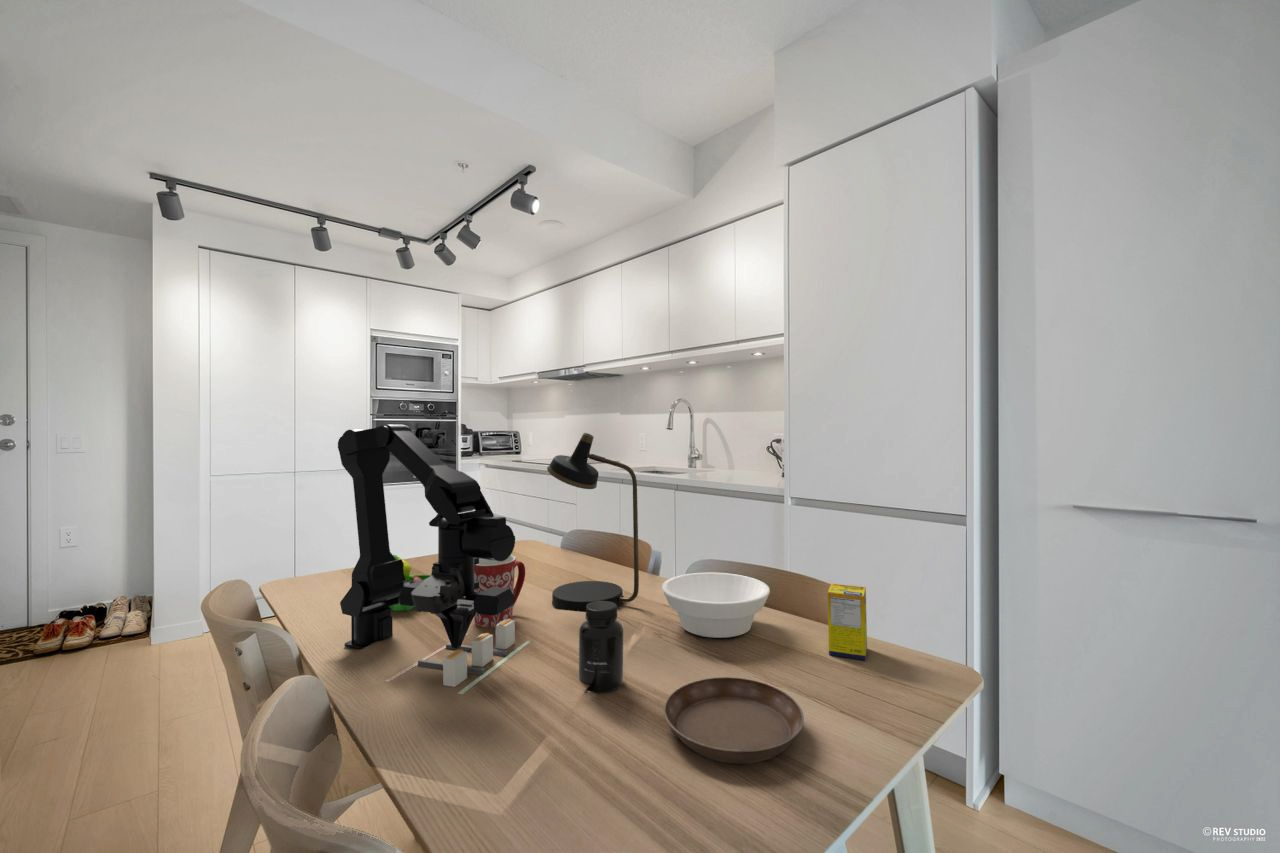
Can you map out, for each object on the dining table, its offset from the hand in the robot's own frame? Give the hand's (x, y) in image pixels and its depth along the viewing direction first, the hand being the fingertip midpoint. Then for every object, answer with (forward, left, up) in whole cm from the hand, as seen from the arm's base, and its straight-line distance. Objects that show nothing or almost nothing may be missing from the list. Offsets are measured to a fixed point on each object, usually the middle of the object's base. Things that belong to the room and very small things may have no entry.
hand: (456, 648), depth 89 cm
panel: (+1, 0, -3) cm, 3 cm away
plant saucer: (+46, -6, -3) cm, 47 cm away
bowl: (+38, +29, -3) cm, 48 cm away
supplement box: (+62, +24, -3) cm, 67 cm away
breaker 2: (+5, +7, -2) cm, 9 cm away
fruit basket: (-32, +24, -3) cm, 40 cm away
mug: (-4, +19, -3) cm, 20 cm away
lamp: (+9, +37, -3) cm, 38 cm away
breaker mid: (+5, 0, -2) cm, 5 cm away
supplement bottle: (+25, +1, -3) cm, 26 cm away
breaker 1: (+5, -7, -2) cm, 9 cm away
